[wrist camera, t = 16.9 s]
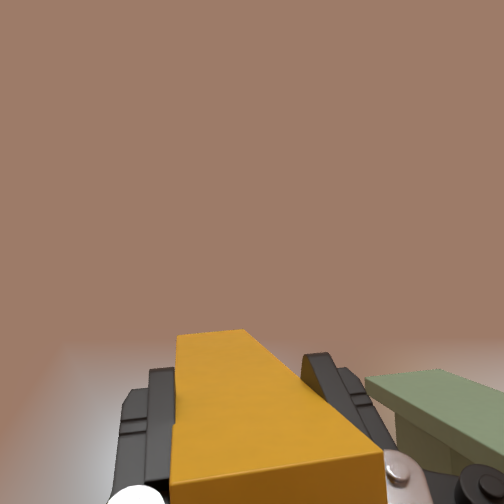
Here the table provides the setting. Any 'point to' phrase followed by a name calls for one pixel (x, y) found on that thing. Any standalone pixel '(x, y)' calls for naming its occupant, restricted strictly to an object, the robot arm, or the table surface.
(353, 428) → the rectangular block
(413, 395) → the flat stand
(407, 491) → the robot arm
